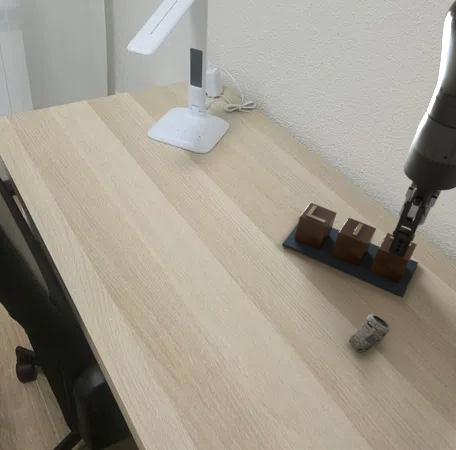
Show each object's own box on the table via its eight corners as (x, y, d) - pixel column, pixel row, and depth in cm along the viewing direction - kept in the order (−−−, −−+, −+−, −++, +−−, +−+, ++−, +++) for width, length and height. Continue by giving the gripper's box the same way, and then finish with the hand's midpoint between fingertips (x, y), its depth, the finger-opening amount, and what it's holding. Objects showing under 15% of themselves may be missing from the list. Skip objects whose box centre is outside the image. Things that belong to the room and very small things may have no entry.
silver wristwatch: (388, 344, 78) (400, 321, 74) (357, 362, 75) (367, 339, 72) (370, 326, 80) (380, 304, 77) (338, 343, 77) (347, 320, 74)
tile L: (329, 235, 94) (337, 211, 91) (319, 250, 91) (326, 226, 88) (304, 224, 96) (310, 201, 93) (293, 239, 93) (299, 215, 90)
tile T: (406, 266, 89) (417, 243, 85) (398, 283, 86) (409, 260, 82) (378, 255, 91) (387, 231, 87) (369, 271, 88) (378, 247, 84)
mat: (417, 264, 90) (418, 262, 90) (402, 297, 84) (403, 296, 84) (303, 217, 98) (303, 215, 98) (282, 245, 92) (282, 243, 92)
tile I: (367, 250, 91) (376, 227, 88) (358, 266, 89) (367, 242, 85) (341, 239, 93) (348, 216, 90) (331, 254, 90) (338, 231, 87)
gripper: (461, 181, 67) (417, 275, 77) (483, 133, 76) (441, 223, 86) (399, 161, 70) (364, 254, 81) (427, 117, 79) (393, 205, 90)
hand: (404, 238), depth 83 cm, fingers open, 8 cm apart
